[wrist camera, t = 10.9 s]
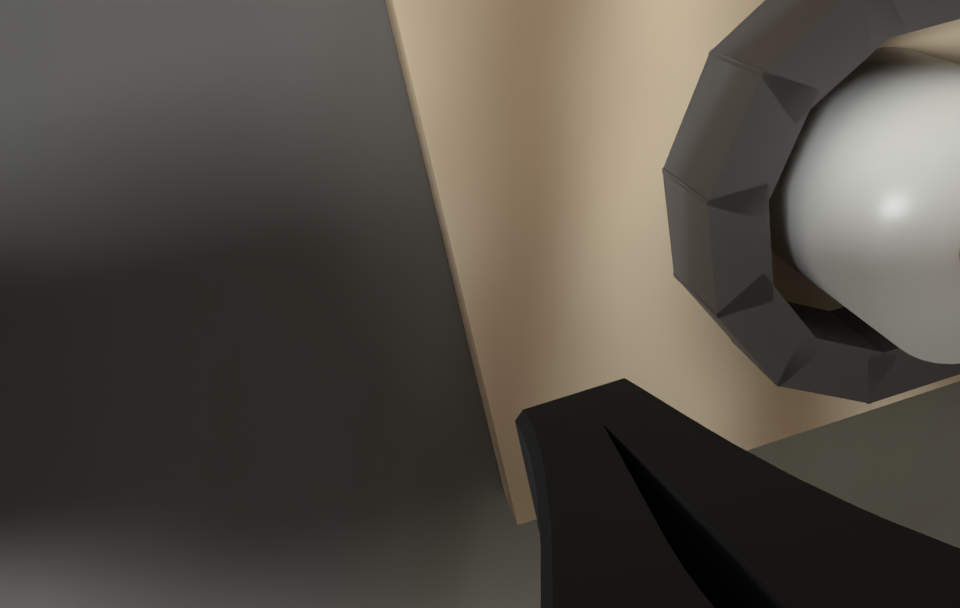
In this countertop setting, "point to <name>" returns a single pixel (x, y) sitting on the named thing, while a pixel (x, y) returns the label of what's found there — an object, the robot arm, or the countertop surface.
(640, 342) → the board
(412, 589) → the countertop surface
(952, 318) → the cap
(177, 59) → the countertop surface
